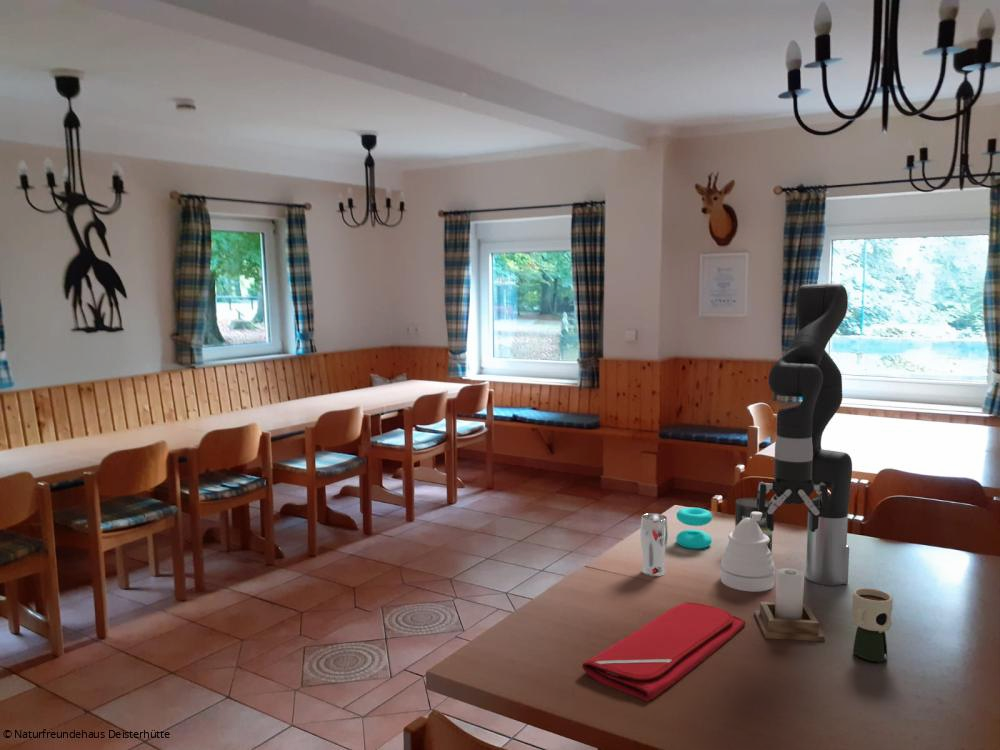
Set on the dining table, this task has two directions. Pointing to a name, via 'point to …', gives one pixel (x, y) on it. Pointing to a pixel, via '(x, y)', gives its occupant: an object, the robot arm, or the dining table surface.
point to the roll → (789, 594)
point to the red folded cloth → (663, 649)
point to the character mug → (871, 622)
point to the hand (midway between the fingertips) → (791, 530)
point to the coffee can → (744, 511)
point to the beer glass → (654, 543)
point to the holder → (788, 624)
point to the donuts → (694, 537)
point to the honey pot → (748, 558)
